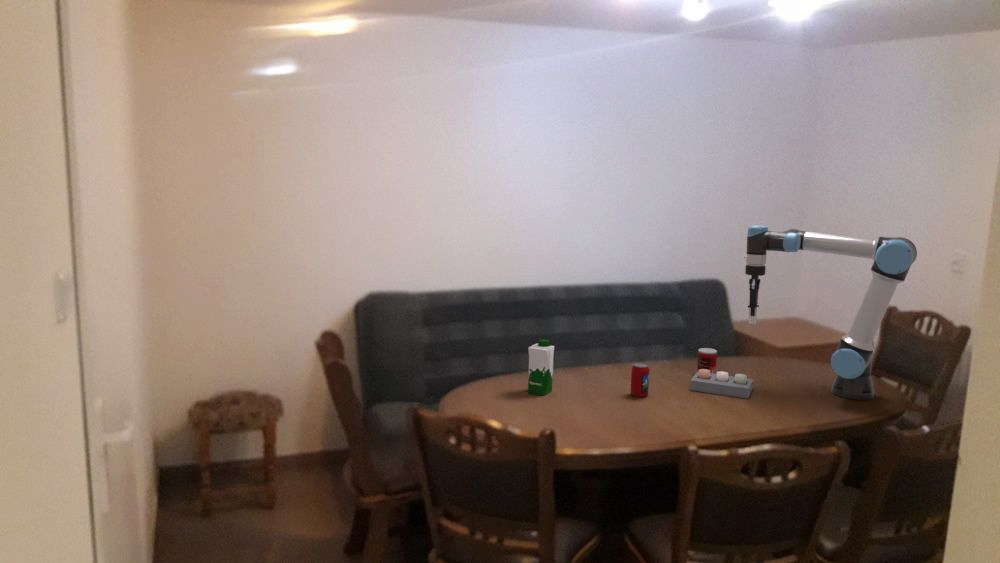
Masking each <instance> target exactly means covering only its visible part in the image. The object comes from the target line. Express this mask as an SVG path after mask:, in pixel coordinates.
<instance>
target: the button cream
mask: <svg viewBox="0 0 1000 563" xmlns="http://www.w3.org/2000/svg"><path fill="white" fill-rule="evenodd" d="M716 374H717V376H716V381H722V382H728V376H729V372H727V371H723V370H722V371H716Z"/></svg>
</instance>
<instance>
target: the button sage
mask: <svg viewBox="0 0 1000 563" xmlns="http://www.w3.org/2000/svg"><path fill="white" fill-rule="evenodd" d="M734 377H735V382H734V383H736V384H743V385H746V381H747V375H746V374H744V373H735V375H734Z"/></svg>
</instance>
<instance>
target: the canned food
mask: <svg viewBox="0 0 1000 563" xmlns="http://www.w3.org/2000/svg"><path fill="white" fill-rule="evenodd" d="M717 357H718V350H716V349H714V348H710V347H709V348H708V347H701V348H698V351H697V362H696V363H697V365H696V367H697V368H696V373H697V372H699V369H708V370H710V373H711V374H717V359H718V358H717Z"/></svg>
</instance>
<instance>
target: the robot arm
mask: <svg viewBox="0 0 1000 563" xmlns="http://www.w3.org/2000/svg"><path fill="white" fill-rule="evenodd" d="M746 235H747V236H746V255H744V258H745V264H746V265H745V270H744V271H745V272H744V273H745V274H746V276H751V278H749V279H748V284H749V287H748V288H749V303H748V304H749V305H747V308H749V310H748V324H751V325H756V324H757V313H758V312H757V311H758V308H760V305H758V304H759V303H758V302H759V301H758V299H759V290H760V284H761V279H760V278H759V276H760V277H761V276H765V275H766V268H767V267H766V264H767V255H768V254H767V251H768V252H769V251H771V252H773V251H775V252H783V253H784V252H785V253H797V252H799V251H809V252H816V253H824V254H832V255H839V256H847V257H856V258H862V259H863V258H864V259H871V260H873V263H872V266H871V268H870V272H871V274H872V277H871V280H870V282H869V284H868V286H867V289H866V292H865V294H864V295H863V298H862V300H861V302H860V305H859V308H858V309H857V312H856V315H855V316H854V319H853V321H852V323H851V325H850V328H849V329H848V330H849V331H848V332H847V334H845V335H842V336H841V338H840V341H839V343H838V345H837V347H836V350H835V351H834V352H833V353H832V355H831V358H830V365H831V368H832V370H833V371H834V373H835V374H836V376H835V379H833V380H834V381H833V382H832V385H831V391H830V392H831V394H833V395H834V396H837V397H840V398H845V399H848V400H857V401H864V400H865V401H868V400H871V399H873V398H874V397H875V396H874V394H875V390H874V387H873V386H874V385H873V383H872V378H871V377H872V376H871V375H872V364H873V354H874V349H875V342H874V338H875V336H876V334H877V331H878V329H879V327H880V325H881V322H882V320H883V318H884V317H885V313H886V312H887V309H888V307H889V305H890V302H891V301H892V298H893V296H894V293H895V291H896V290H897V287H898V285H899V284H901V283H903V282H905V280H906V278H907V276H908V273H909V272H910V269H911V267H912V265H913V264H914V262H915V261H916V259H917V256H918V251H917V247H916V245H915V244H914V242H912V241H911V240H910V239H909V238H905V237H900V236H899V237H891V236H890V237H885V236H877V237H876V238H869V237H868V238H867V237H862V236H861V237H860V236H852V235H842V234H832V233H824V232H818V231H817V232H815V231H807V230H806V231H805V230H799V229H796V228H790V229H788V230H784V231H771V230H769V227H768V226H767V225H762V224H760V225H759V224H758V225H754V224H753V225H749V226H748V228H747V234H746Z"/></svg>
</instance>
